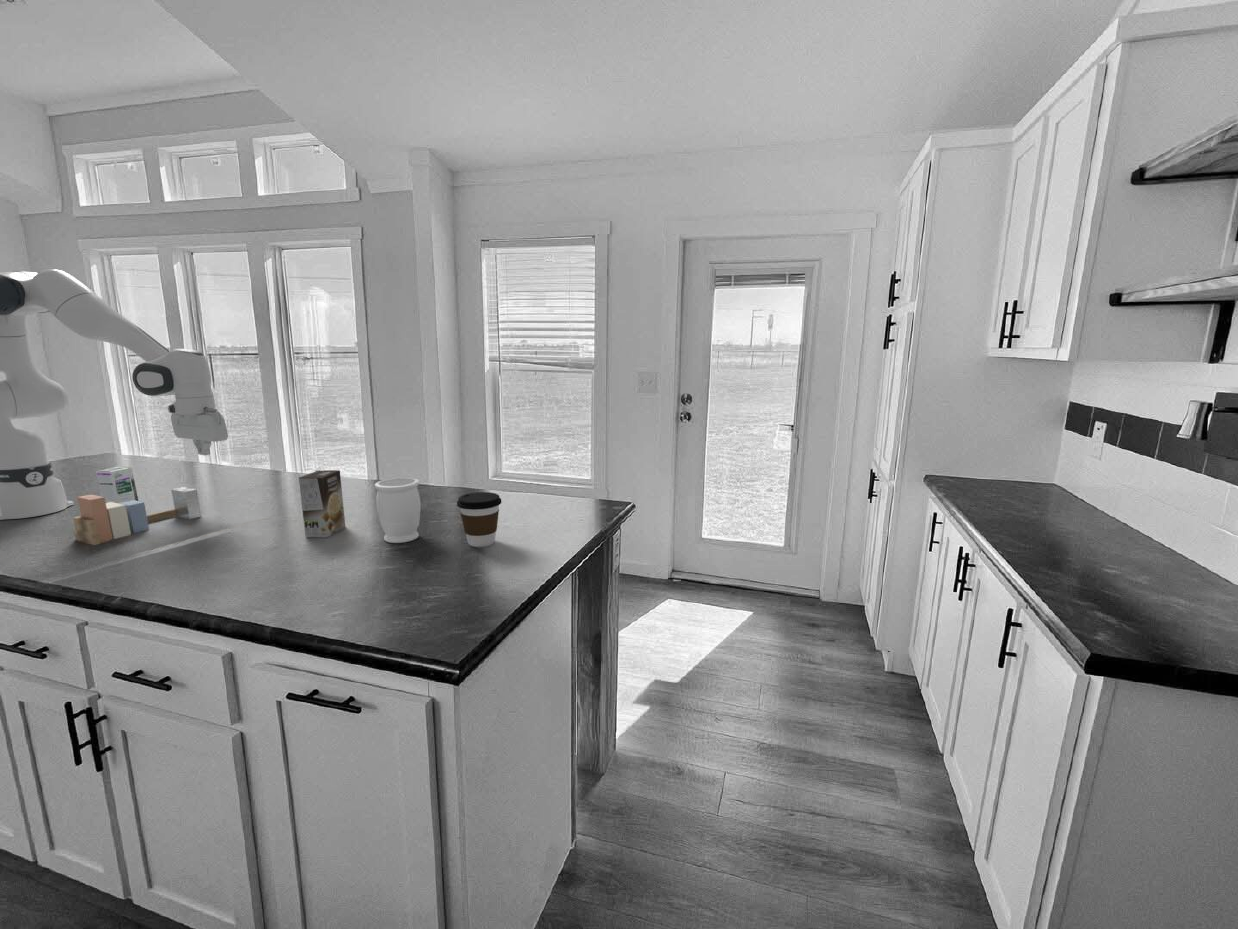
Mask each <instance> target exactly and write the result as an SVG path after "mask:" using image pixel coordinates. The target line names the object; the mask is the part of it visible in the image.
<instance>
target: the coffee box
mask: <svg viewBox="0 0 1238 929" xmlns="http://www.w3.org/2000/svg"><path fill="white" fill-rule="evenodd" d="M341 478H342V477H341V470H339V469H337V470H334V469H333V470H329V469H327V470H326V469H324V470H316V471H314V472H310V473H308V474H305V475H302V476H300V477H298V484H299V493H300V500H301V502H300V503H301V509H302V517H303V518H302V519H303V527H304V536H305V538H325V539H326V538H329V537H332V536H333V535H335V534H336V533H338V532H339V531H341V530H342V529H345V528H346V518H345V507H344V501H343V500H344V498H343V489H342V488H343V486H342V479H341Z"/></svg>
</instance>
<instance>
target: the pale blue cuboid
mask: <svg viewBox="0 0 1238 929" xmlns="http://www.w3.org/2000/svg"><path fill="white" fill-rule="evenodd" d="M118 504H123V505H126V511H127V516H128V521H129V526H130V531H131V534H132V533H133V534H136V533H139V532H143V531H148V530H150V527H149V523H148V520H147V515H148V514H147V510H146V505H145V502H144V501H141V500H138V501H136V500H131V501H126V502H122V503H118Z"/></svg>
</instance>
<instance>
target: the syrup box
mask: <svg viewBox="0 0 1238 929" xmlns="http://www.w3.org/2000/svg"><path fill="white" fill-rule="evenodd" d="M133 471H134V470H133V467H130V466H115V467H111V468H106V469H102V470H101V469H100V470H96V472H95V475H96V480H97V483H98V487H99V493H100V496H101V497H104V498H105V503H108V502H114V503H122V502H126V501H131V500H136V501H139V496H138V491H137V488H136V487H137V486H136V483H135V476H134V472H133Z"/></svg>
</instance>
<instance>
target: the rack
mask: <svg viewBox="0 0 1238 929" xmlns="http://www.w3.org/2000/svg"><path fill="white" fill-rule="evenodd" d="M146 515H147V520H148V524H149V523H153V522H157V521H161V520H165V519H169V518H174V517H176V513H175V508H172V509H168V510H163V511H159V512H155V513H151V514H146ZM72 519H73V523H74V524H73V525H74V528H75V529H74V530H75V531H74V532H73V533H74V539H75V541H79V542H82V543H84V544H88V545H92V546H96V545H97V546H98V545H100V544H104V543H109V542H112V539H111V540H108V541H104V542H100V540H99V535H98V530H97V525H96V520H92V519H88V518H84V517H81V515H79V516H74V517H72Z"/></svg>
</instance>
